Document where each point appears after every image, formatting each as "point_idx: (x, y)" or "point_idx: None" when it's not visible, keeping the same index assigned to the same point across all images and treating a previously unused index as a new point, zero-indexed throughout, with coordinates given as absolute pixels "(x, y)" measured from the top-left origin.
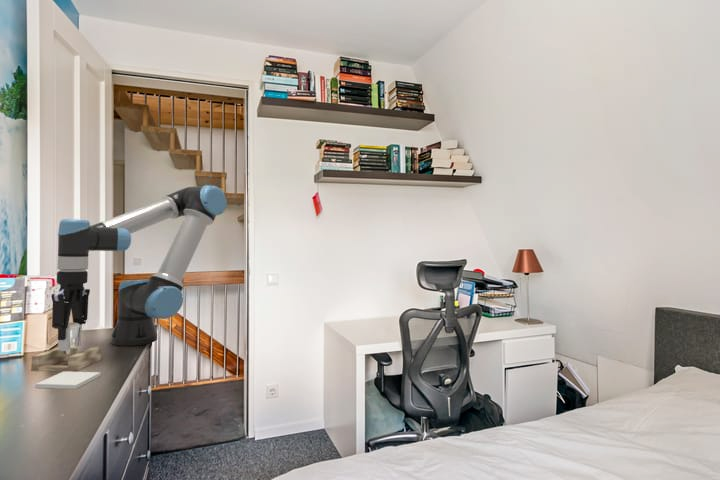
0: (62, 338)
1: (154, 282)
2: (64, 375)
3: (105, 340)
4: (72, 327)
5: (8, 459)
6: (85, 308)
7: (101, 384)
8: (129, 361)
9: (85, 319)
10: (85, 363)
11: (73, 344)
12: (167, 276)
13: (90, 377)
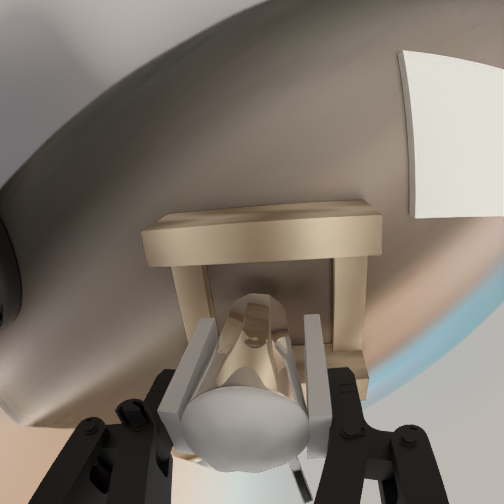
0: (353, 376)
1: None
2: (460, 177)
3: (13, 345)
4: (291, 412)
5: None
6: (62, 500)
7: (466, 15)
8: (165, 66)
9: (99, 426)
10: (284, 207)
11: (275, 324)
12: None
13: (462, 60)
